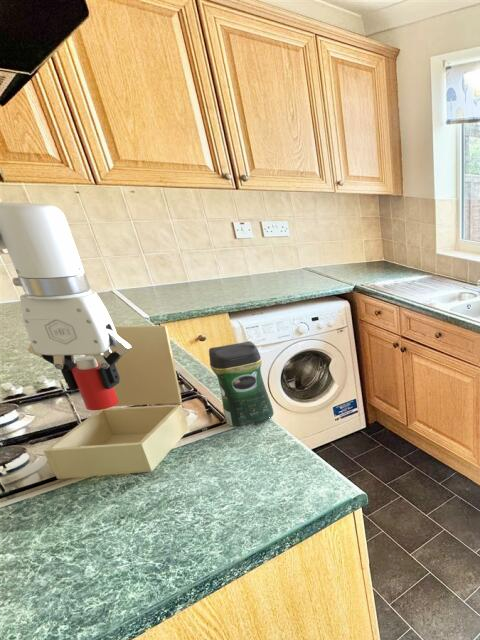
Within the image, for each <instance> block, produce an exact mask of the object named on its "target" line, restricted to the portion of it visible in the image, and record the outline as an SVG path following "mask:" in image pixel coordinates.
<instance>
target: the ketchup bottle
mask: <svg viewBox="0 0 480 640" xmlns="http://www.w3.org/2000/svg"><path fill="white" fill-rule="evenodd" d="M74 363H76V364H77V366H76V367H74V368H72V369H71V371H72V374H73V376H74V379H75V381H76V383H77V386H78V391H79V393H80V396H81V398H82V401H83V403H84V405H85V408H86V410H89V411H98V410H102V409H107V408H114V407H116V406H115V405H117V404H118V402H119V401H118V398H117V396H116V393H115V390H114V387H113V388H111V389H106V388H104V385H103V383H102V380H101V377H100V375H99V372H98V369H100V368H101V366H100V365H99V363H97V360H96V359H95V358H94V356H81V357H77V358H76V359H74Z"/></svg>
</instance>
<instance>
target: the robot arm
mask: <svg viewBox="0 0 480 640" xmlns="http://www.w3.org/2000/svg"><path fill="white" fill-rule="evenodd" d="M1 250H7V253H8V255H9V257H10V260H11V262H12V265H13V267H14V269H15V272H16V274H17V277H13V278H12V285H14V286H16V287H20V288H21V287H22V290H23V292H24V293H25V294H22V295H20V297H19V298H20V299H19V300H20V311H21V315H22V320H23V323H24V326H25V330H26V333H27V336H28V339H29V341H30V344H29V346H28V347H27V352H28V353H29V354H32V355H35V356H37V357H39V358H42V359H43V360H45V361H47V362H48V363H50V364H51V365H53V366H54V369H56V370H58V371H59V370H60V372H61V374H62V376H63V379H64V381H65V384H66V385H67V386H68V389H69V390H70V391H76V390H79V388H78V386H77V383H76V381H75V379H74V376H73V374H72V371H71V369H72V368H74V367H76V366H77V364H76V362H75V358H74V357H75V356H85V355H93V356H94V358H95V359H96V360H97V362H98V363H99V365H100V366H101V368H100V369H98V372H99V375H100V377H101V380H102V383H103V385H104V388H106V389H111V388H113V387H114V386H115V385H117V384H118V383H119V380H120V377H119V374H118V372H117V369H116V366H115V363H117V361H118V360H119V359H120V357H121V356H122V355H124V354H125V353H126V352H128V351H129V350H131V349H132V347H131V345H129V344H128V343H127V342H126V341H124V340H123V339H122V338H121V337H119V336H118V335H117V332H116V330H115V327H114V326H115V325H114V323H113V320H112V318H111V316H110V313H109V311H108V309H107V307H106V306H105V304H104V302H103V300H102V299H101V298H100V296H99V295H98V293H97V291H92V289H91V285H90V282H89V280H88V278H87V275H86V272H85V269H84V266H83V263H82V261H81V257H80V255H79V252H78V249H77V246H76V243H75V240H74V238H73V235H72V232H71V229H70V226H69V223H68V220H67V217H66V216H65V214H64V212H63V211H62V210H61V209H60V208H59V207H57V206H55V205H52V204H46V203H35V202H28V203H27V202H4V201H0V251H1ZM112 346H115V347H116V350H115V351H114V352H112V350H111V349H110V347H112Z"/></svg>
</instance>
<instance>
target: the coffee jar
mask: <svg viewBox="0 0 480 640" xmlns="http://www.w3.org/2000/svg"><path fill="white" fill-rule="evenodd" d="M208 356H209V366H210V369H211V371H212V372H213V373H214V374H215V376H216V377H217V382H218V385H219V389H220V394H221V395H220V396H221V402H222V410H223V415H224V419H225V422H226V424H227V425H229V426H230V427H234V428H235V427H236V428H238V427H244V426H248V425H252V424H254V425H256V424H259V423H263V422H266V421H268V420H270V419H271V418H272V417H273V416H274V414H275V412H274V408H273V405H272V403H271V399H270V397H269V394H268V392H267V388H266V386H265V385H266V384H265V383H264V380H263V375H262V371H261V367H262V357H261V353H260V352H259V349H258V347H257V345H256V344H255V343H253V342H252V341H251V340H248V341H244V342H237V343H231V344H226V345H222V346H221V345H219V346H215V347H210V348H209V349H208ZM269 417H270V418H269Z"/></svg>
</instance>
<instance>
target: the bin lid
mask: <svg viewBox="0 0 480 640" xmlns="http://www.w3.org/2000/svg"><path fill="white" fill-rule="evenodd" d="M114 327H115V330H116V332H117V335H118V336H119V337H121V338H122V339H123V340H124V341H126V342H127V343H128V344H129V345H131V347H132V349H131V350H129V351H128V352H126V353H125V354H124V355H122V356H121V357H120V359H119V360H118V361H117V363H115V366H116V369H117V372H118V374H119V377H120V380H119V383H118V384H117V385H115V386H114V390H115V393H116V396H117V398H118V401H119V402H118V404H117V405H115V406H114V407H127V406H128V407H131V406H152V405H173V404H181V403H183V400H182V394H181V390H180V385H179V384H180V383H179V380H178V379H179V378H178V374H177V369H176V365H175V360H174V354H173V349H172V345H171V339H170V335H169V329H168V326H167V325H132V326H131V325H126V326H125V325H123V326H122V325H121V326H119V325H118V326H115V325H114ZM110 349H111V350H112V352H114V351H115V350H116V347H115V346H112V347H110ZM86 356H93V355H84V357H86ZM97 363H98V362H97Z"/></svg>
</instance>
